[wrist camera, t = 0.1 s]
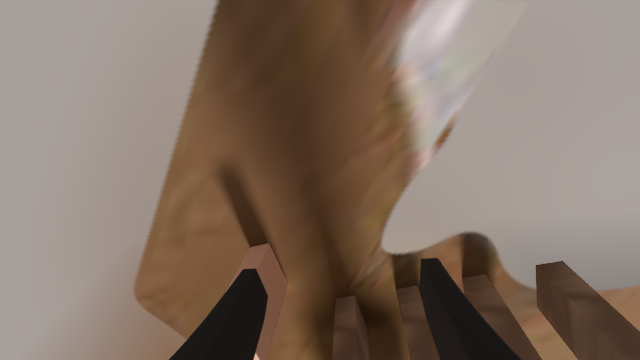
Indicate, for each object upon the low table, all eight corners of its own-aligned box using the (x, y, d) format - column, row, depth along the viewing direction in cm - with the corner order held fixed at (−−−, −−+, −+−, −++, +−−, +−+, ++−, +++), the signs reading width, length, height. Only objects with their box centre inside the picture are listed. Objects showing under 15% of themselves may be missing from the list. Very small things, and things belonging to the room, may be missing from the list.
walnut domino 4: (537, 306, 24) (618, 411, 17) (535, 265, 22) (625, 361, 15) (562, 303, 24) (656, 409, 16) (562, 261, 22) (668, 358, 15)
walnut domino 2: (406, 324, 27) (428, 421, 19) (395, 288, 25) (415, 380, 18) (426, 322, 26) (456, 420, 19) (417, 285, 25) (446, 378, 17)
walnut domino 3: (468, 316, 25) (516, 417, 18) (461, 277, 24) (512, 372, 16) (490, 313, 25) (549, 415, 18) (485, 273, 23) (548, 368, 16)
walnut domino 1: (349, 332, 28) (349, 425, 21) (335, 298, 26) (330, 387, 19) (367, 329, 28) (374, 424, 20) (354, 295, 26) (357, 385, 19)
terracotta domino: (270, 286, 27) (240, 369, 19) (249, 247, 25) (208, 323, 17) (288, 282, 26) (264, 367, 19) (268, 243, 24) (234, 318, 17)
